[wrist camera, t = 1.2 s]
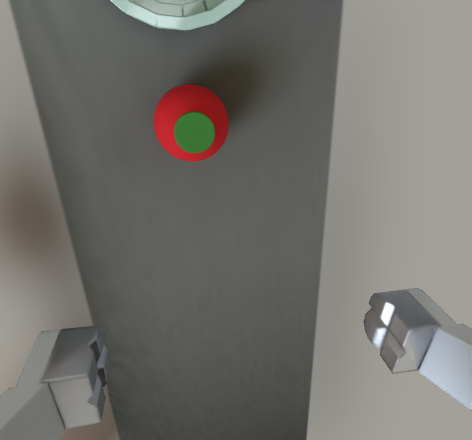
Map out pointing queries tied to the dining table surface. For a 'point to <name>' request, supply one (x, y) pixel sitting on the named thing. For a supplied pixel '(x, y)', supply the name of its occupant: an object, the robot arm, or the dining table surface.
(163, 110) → the tomato
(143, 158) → the dining table surface
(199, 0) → the bowl
